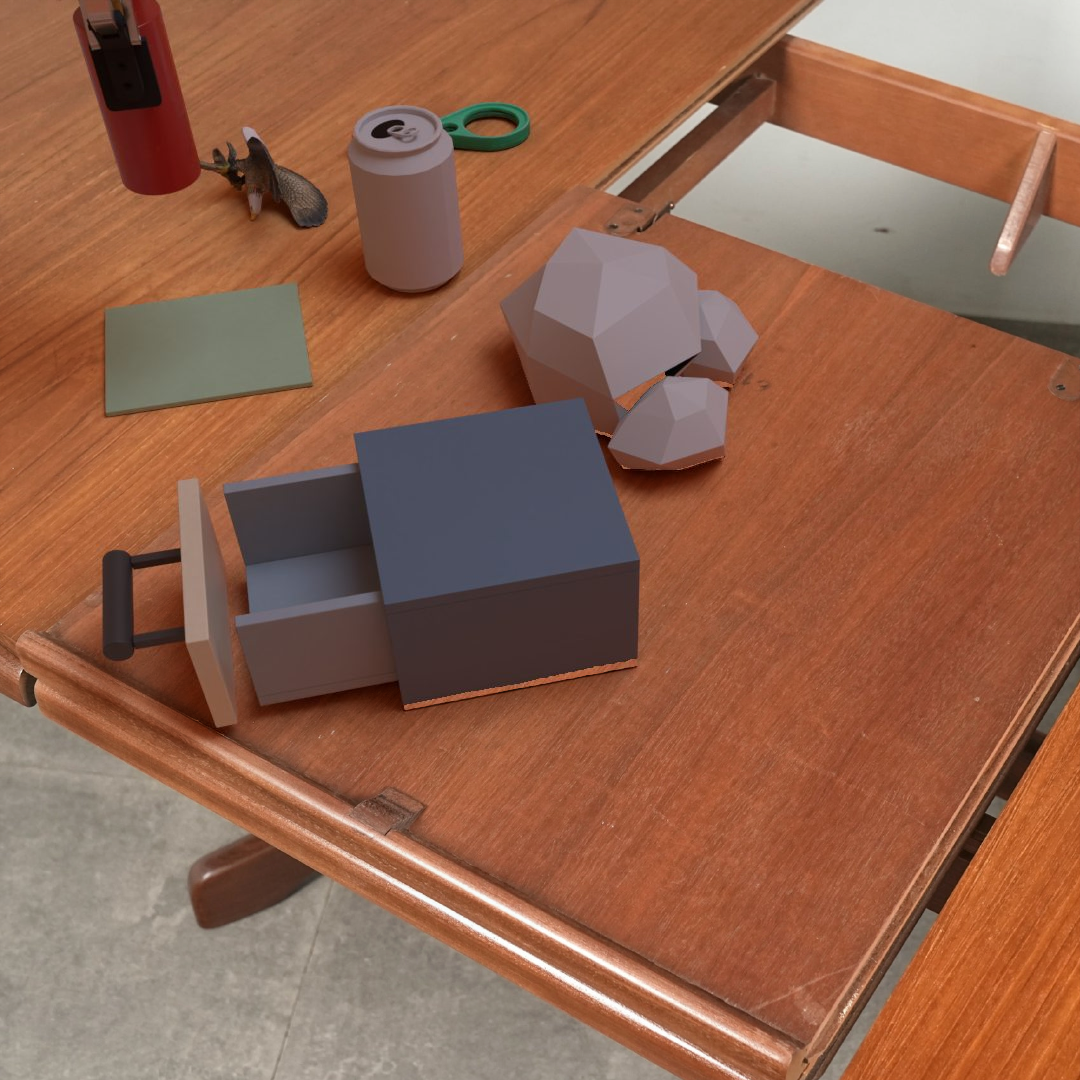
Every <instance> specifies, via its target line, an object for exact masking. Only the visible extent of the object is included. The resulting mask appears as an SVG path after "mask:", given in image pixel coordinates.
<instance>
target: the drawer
mask: <svg viewBox="0 0 1080 1080" xmlns="http://www.w3.org/2000/svg"><path fill="white" fill-rule="evenodd" d="M222 489H223V495H224V496H223V497H224V500H225V503H226V506H227V510H228V513H229V516H230V520H231V523H232V527H233V529H234V533H235V537H236V540H237V543H238V546H239V550H240V554H241V557H242V561H243V564H244V570H245V578H246V590H247V601H248V611H249V613H246V614H245V613H244V614H240V615H235V616H234V618H233V619H234V628H235V631H236V634H237V637H238V640H239V644H240V647H241V650H242V653H243V656H244V659H245V663H246V666H247V670H248V672H249V676H250V679H251V681H252V685H253V688H254V690H255V694H256V696H257V700H258V704H259V706H260V707H263V706H264V707H265V706H269V705H273V704H279V703H284V702H285V703H286V702H290V701H295V700H301V699H307V698H312V697H318V696H322V695H327V694H333V693H338V692H343V691H348V690H354V689H361V688H365V687H371V686H376V685H381V684H387V683H393V682H397V681H398V676H397V671H396V665H395V660H394V655H393V649H392V644H391V639H390V633H389V628H388V623H387V618H386V612H385V607H384V602H383V596H382V590H381V585H380V579H379V574H378V568H377V563H376V557H375V552H374V546H373V540H372V535H371V529H370V524H369V518H368V513H367V507H366V502H365V496H364V491H363V485H362V479H361V474H360V468H359V463H358V462H353V463H347V464H341V465H340V464H339V465H334V466H329V467H321V468H315V469H310V470H309V469H308V470H304V471H303V470H302V471H297V472H291V473H284V474H278V475H272V476H266V477H260V478H259V477H258V478H254V479H253V478H252V479H248V480H241V481H235V482H229V483H223V484H222ZM176 491H177V492H176V493H177V511H178V530H179V547H177V548H171V549H165V550H159V551H153V552H147V553H141V554H136V555H131V554H130V553H129V552H127V551H126V550H122V549H112V550H110V551H107V552H106V553H104V555H103V557H102V560H101V561H102V562H101V563H102V564H101V565H102V567H101V569H102V571H101V573H102V574H101V575H102V577H101V578H102V579H101V582H102V583H101V585H102V586H101V588H102V590H101V591H102V592H101V593H102V599H101V600H102V601H101V602H102V607H101V608H102V609H101V611H102V612H101V613H102V614H101V615H102V618H101V619H102V621H101V622H102V624H101V625H102V627H101V628H102V629H101V630H102V634H101V635H102V642H101V643H102V644H101V646H102V647H101V648H102V649H101V651H102V655H103V657H105V658H106V659H107V660H109V661H112V662H123V661H127V660H129V659H130V658H132V657H133V656H134V654H135V650H141V649H148V648H151V647H158V646H163V645H169V644H174V643H180V642H184V643H185V646H186V648H187V651H188V655H189V657H190V659H191V662H192V665H193V668H194V670H195V674H196V676H197V678H198V682H199V684H200V687H201V690H202V692H203V696H204V698H205V700H206V703H207V706H208V709H209V711H210V714H211V716H212V720H213V723H214V726H215V727H216V728H222V727H227V726H233V725H237V724H238V723H239V718H238V706H237V705H238V704H237V695H236V694H237V693H236V682H235V668H234V657H233V656H234V655H233V645H232V634H231V622H230V621H231V620H230V607H229V606H230V605H229V594H228V583H227V570H226V563H225V560H224V557H223V553H222V550H221V547H220V544H219V541H218V537H217V534H216V530H215V528H214V525H213V521H212V518H211V514H210V511H209V509H208V505H207V501H206V499H205V496H204V492H203V489H202V485H201V483H200V479H199V478H198V477H193V478H187V479H180V480H179V479H178V480H177V481H176ZM177 563H178V564H179V563H180V565H181V566H180V568H181V584H182V585H181V586H182V587H181V588H182V605H183V622H184V623H183V624H184V625H182V626H177V627H170V628H166V629H159V630H154V631H149V632H143V633H137V634H136V633H135V623H134V622H135V619H134V618H135V616H134V615H135V613H134V612H135V610H134V571H135V570H142V569H148V568H154V567H160V566H166V565H171V564H177ZM398 682H399V681H398Z"/></svg>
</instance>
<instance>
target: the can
mask: <svg viewBox="0 0 1080 1080" xmlns="http://www.w3.org/2000/svg"><path fill="white" fill-rule="evenodd" d="M439 118H440V117H439V116H438V115H437V114H435V113H434V112H433V111H430V110H429V109H427V108H423V107H420V106H417V105H406V104H398V105H387V106H383V107H380V108H376V109H373V110H371V111H369V112H367V113H365V114H364V115H363V116H361V117H360V118H359V119H357V121H356V122H355V125H354V127H353V129H352V131H353V134H354V137H353V138H352V137H351V140H350V141H349V144H348V145H347V149H346V150H347V158H348V165H349V171H350V177H351V183H352V184H351V185H352V190H353V194H354V196H353V197H354V203H355V209H356V214H357V220H358V227H359V234H360V240H361V246H362V252H363V259H364V265H365V270H366V272H367V273H368V274H369V276H370V277H371V278H372V279H373V280H375V281H376V282H378V283H380V284H381V285H384V286H386V287H387V288H388V289H391V290H393V291H396V292H400V293H409V294H415V293H425V292H429V291H433V290H436V289H438V288H439V287H441V286H443V285H445V284H447V283H448V281H449V280H450V279H452V278H453V277H454V276H455V275H456V274H457V273H458V272H459V271H460V270H461V269H462V266H463V264H464V261H465V255H464V245H463V244H464V243H463V234H462V225H461V224H462V223H461V213H460V204H459V203H460V202H459V192H458V191H459V190H458V182H457V172H456V171H457V170H456V159H455V152H454V149H455V148H454V147H453V142H452V138H451V137H450V135H449V134H448V133H447V132H446V131H445V130H444V129H443V127H442V121H441V120H440V119H439Z"/></svg>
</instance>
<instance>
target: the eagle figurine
mask: <svg viewBox="0 0 1080 1080" xmlns="http://www.w3.org/2000/svg"><path fill="white" fill-rule="evenodd" d="M241 133H242V136H243V138H244V141H245V142H246V147H247V148H248V156H247V157H246V158H245V157H244V158H240V159H239V158H236V157H237V153H238V151H237V150H236V149H235V147H234V146H233V144H232V143H231V142H230V141H225V143H226V146H227V149H228V156H227V159H226V157H225V155H224V154H223V153H222V151H221V150H220V148H218V147H216V148H213V149H212V152H211V155H212V156H211V157H212V159H213V162H207V161H203V160H201V159H199V161H200V165H201V170H204V171H208V172H209V171H210V172H214V173H216V174H219V175H220V176H222V177H223V178H225V179H226V180H227V181H228V182H229V184H230V186H232V187H233V188H234V189H236V191H237V192H242V191H243V186H245V192H246V194H247V199H248V205H249V211H250V218H249V220H250V221H254V220H255V219H256V217H257V215H258V214H259V213H260V212H261V210H262V200H263V195H264V193H268V194H270V195H271V196H272V199H273V200H274V201H275V202H276V203H280V202H281V200H282V201H283V203H284V204H285V205H286V206H287V207H288V209H289V211H290V213H291V215H292V217H293V219H294V221H295V222H296V223H297V225H298V226H299V227H304V226H305V227H307V228H311V227H312V226H314V227H320V225H322V224H325V223H326V220H325V219H326V218H328V216H329V215H328V213H327V211H329V208H328V205H329V204H328V203H329V202H327V201H328V200H327V199H326V198H325V194H324V193H322V192H321V190H320V189H319V188H318V187H316V186H315V184H314V183H313V182H312V181H310V180H308V178H305V177H304V176H303V175H301V174H300V173H298V172H295V171H293V170H292V169H290V168H288V167H286V166H283V165H278V164H277V163H275V161H274V159H273V157H272V155H271V154H270V152H269V150H268V148H267V146H266V145H265V143H264V142H263V140H262V139H261V137H260V135H259V134H258V133H257V132H256V130H255V129H254V128H252V127H250V126H243V127H241ZM239 172H240V173H242V175H241V176H240V175H238V173H239Z"/></svg>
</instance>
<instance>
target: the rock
mask: <svg viewBox="0 0 1080 1080" xmlns="http://www.w3.org/2000/svg"><path fill="white" fill-rule="evenodd" d="M498 304H499V308H500V310H501V313H502V315H503V318H504V320H505V323H506V326H507V328H508V331H509V334H510V336H511V339H512V341H513V344H514V343H515V344H514V346H515V345H516V347H515V349H516V348H517V350H516V352H517V351H518V353H517V355H518V354H519V356H518V358H519V357H520V359H519V361H520V360H521V362H520V364H521V363H522V364H521V367H522V366H523V367H522V369H523V368H524V370H523V373H524V372H525V373H524V375H525V374H526V376H525V378H526V377H527V379H526V381H527V380H528V382H527V384H528V383H529V385H528V387H529V386H530V388H531V391H532V394H531V396H532V395H533V396H532V398H533V397H534V399H533V401H534V400H535V402H534V404H535V403H536V405H538V404H544V403H550V402H557V401H563V400H570V399H576V398H583V399H584V402H585V405H586V408H587V410H588V413H589V416H590V419H591V422H592V425H593V427H594V430H598V431H600V432H605V433H608V434H610V435H613V436H612V438H611V439H610V441H609V443H608V444H607V449H608V450H609V452H610V453H611V454H612V455H611V456H613V458H614V460H615V461H616V462H617V464H618V463H619V464H620V465H623V466H624V467H627V468H630V469H654V470H653V471H655V470H656V469H660V470H677V469H681V468H685V467H688V466H691V465H695V464H697V463H701V462H704V461H708V460H710V459H715V458H717V457H721V456H724V455H725V456H726V451H725V449H726V448H727V430H728V429H727V428H728V409H729V391H728V390H727V389H726V388H722V387H721V386H719V385H718V384H716V383H715V382H713V381H722V382H727V383H729V384H732V385H733V383H734V382H735V380H736V379H738V378H739V376H740V374H741V372H742V370H743V369H744V367H745V365H746V362H747V361H748V360H749V357H750V355H751V354H752V351H753V350H754V348H755V346H756V344H757V342H758V340H759V338H760V336H759V335H758V333H757V331H755V329H754V328H753V326H752V325H751V323H750V322H749V320H748V319H747V318H746V316H745V315H744V313H743V311H741V309H740V307H739V306H738V305H737V303H736V302H735V301H734V300H732V299H730V298H729V297H728V296H726V295H725V294H723V293H721V292H720V291H718V290H716V289H715V290H714V289H699V287H698V274H697V273H696V272H695V271H693V269H691V268H690V267H689V266H688V265H686V264H685V263H684V262H683V261H681V260H680V259H679V258H678V257H677V256H675V255H674V254H673V253H672V252H670V250H668V249H667V248H666V247H664V246H660V245H656V244H651V243H648V242H642V241H639V240H634V239H630V238H625V237H621V236H616V235H611V234H607V233H603V232H598V231H593V230H589V229H585V228H580V227H575V226H573V227H572V229H571V230H570V231H569V233H568V234H567V235H566V237H565V238H564V239H563V241H562V242H561V243H560V245H559V246H558V247H557V248H556V250H555V252H554V253H552V255H551V257H550V258H549V259H548V261H547V262H546V263H545V264H544V265H543V266H541V267H540V268H539V269H538V270H537V271H535V272H534V273H533V274H532V275H530V276H529V277H528V278H527V279H525V280H524V281H522V282H521V284H520V285H518V286H517V287H516V288H515V289H514V290H512V291H511V292H510V293H509V294H507V295H506V296H505V297H504V298H503V299H502V300H500V301H499V302H498ZM663 372H665V375H666V377H665V378H664V379H662V380H661V381H659V382H657V383H656V384H654V385H653V386H652V387H650V388H649V389H648V390H647V391H646V392H645V393H644V394H643V395H642V396H641V397H640V399H639V400H638V401H637V402H636V403H635V404H634V406H633V407H632V408H631V409H630V410H629V411H628V410H626V409H625V408H623V407H622V406H621V405H619V404H618V403H617V402H615V401H614V399H616V398H618V397H619V396H621V395H623V394H625V393H627V392H629V391H630V390H632V389H634V388H636V387H638V386H639V385H641V384H643V383H645V382H647V381H648V380H650V379H652V378H654V377H656V376H658V375H659V374H661V373H663ZM679 376H681V377H679ZM737 377H738V378H737ZM736 381H737V380H736ZM735 383H736V382H735ZM530 388H529V389H530ZM531 391H530V392H531ZM627 411H628V412H627ZM726 450H727V449H726ZM619 464H618V465H619ZM620 465H619V466H620Z"/></svg>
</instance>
